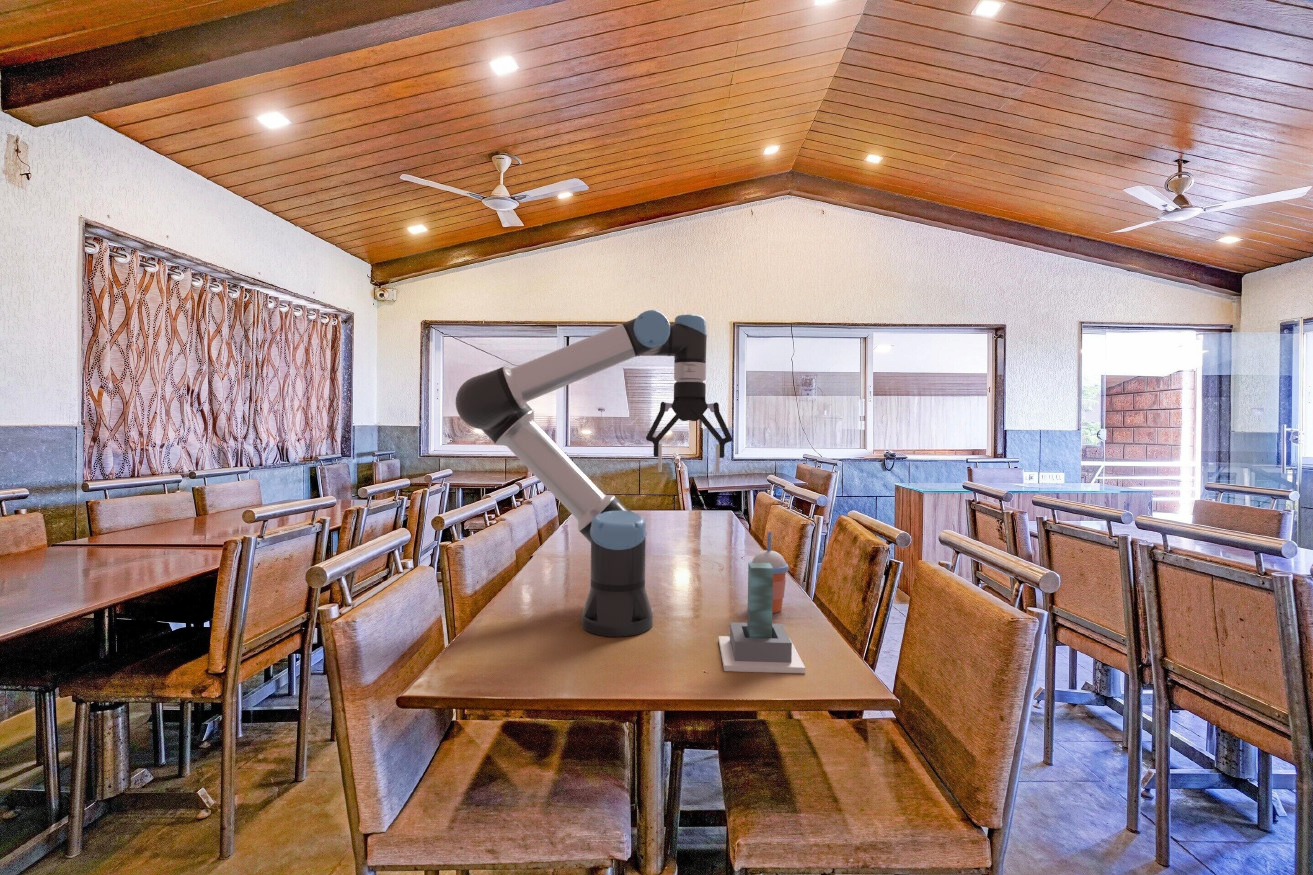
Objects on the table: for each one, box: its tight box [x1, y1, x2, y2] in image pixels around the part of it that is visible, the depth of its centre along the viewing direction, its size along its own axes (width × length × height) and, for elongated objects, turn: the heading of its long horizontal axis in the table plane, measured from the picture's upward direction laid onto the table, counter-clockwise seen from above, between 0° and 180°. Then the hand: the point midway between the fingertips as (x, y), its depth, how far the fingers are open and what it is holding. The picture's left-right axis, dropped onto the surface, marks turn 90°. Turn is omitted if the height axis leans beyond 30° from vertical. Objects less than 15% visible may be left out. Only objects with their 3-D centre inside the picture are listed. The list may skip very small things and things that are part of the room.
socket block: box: [718, 621, 806, 674], centre depth 108 cm, size 14×14×4 cm
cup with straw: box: [749, 531, 790, 614], centre depth 136 cm, size 9×9×18 cm
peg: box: [746, 562, 773, 638], centre depth 108 cm, size 4×4×16 cm
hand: (688, 471), depth 138 cm, fingers open, 13 cm apart
